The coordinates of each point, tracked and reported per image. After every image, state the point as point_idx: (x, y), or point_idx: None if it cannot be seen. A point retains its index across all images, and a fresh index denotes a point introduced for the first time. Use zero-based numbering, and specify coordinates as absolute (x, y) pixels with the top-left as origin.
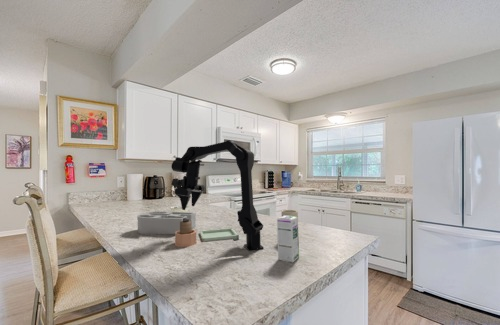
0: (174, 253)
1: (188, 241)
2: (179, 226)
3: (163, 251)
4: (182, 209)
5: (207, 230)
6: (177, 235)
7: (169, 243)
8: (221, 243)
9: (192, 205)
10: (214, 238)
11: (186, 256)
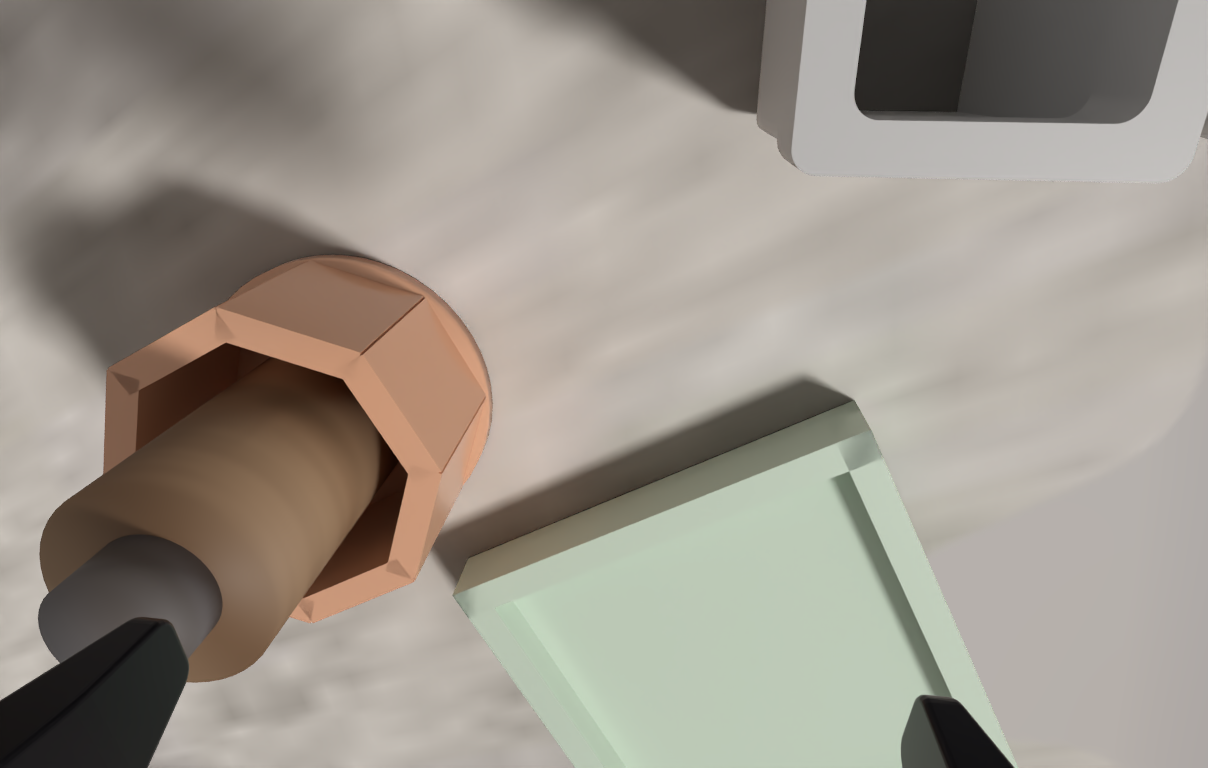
0: (75, 385)
1: None
2: (776, 93)
3: (67, 223)
4: (130, 622)
5: (883, 541)
6: (119, 403)
7: (358, 124)
8: (515, 728)
9: (915, 730)
10: (532, 694)
11: None
